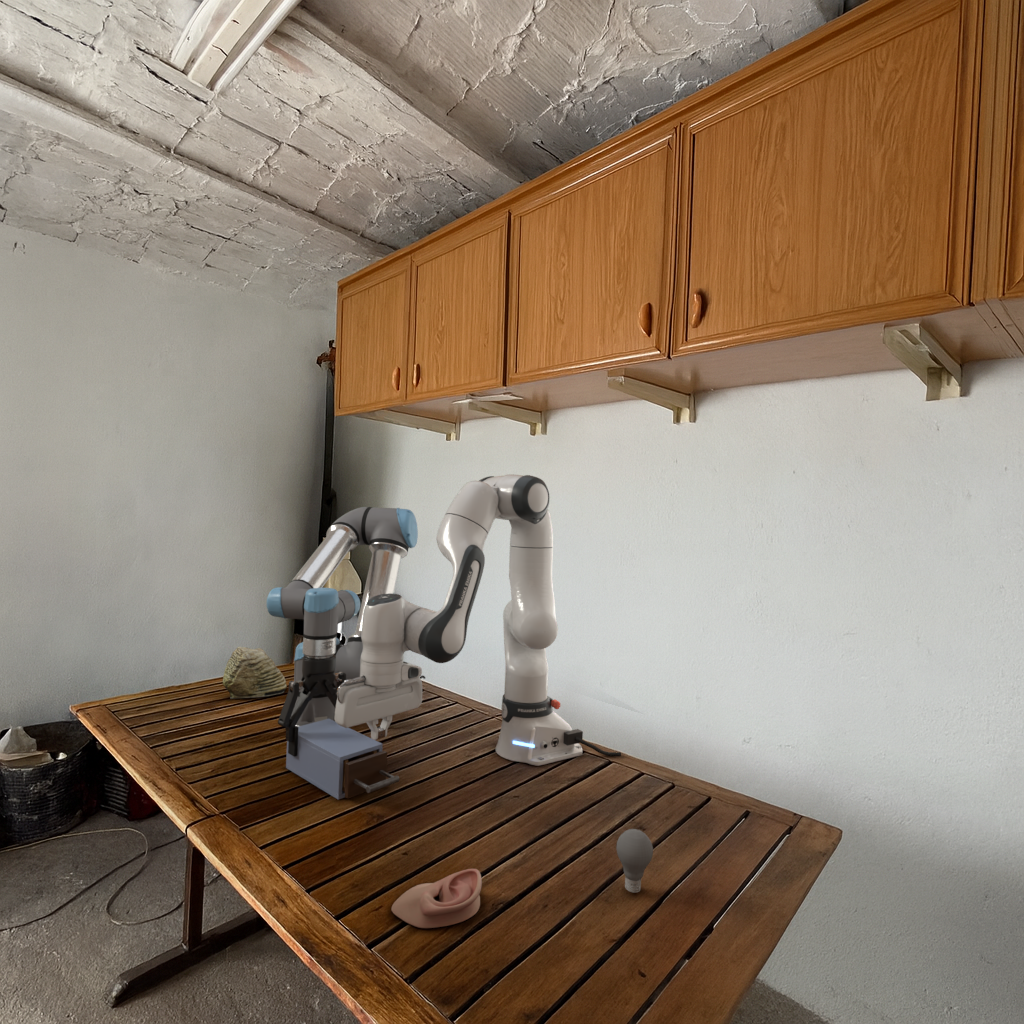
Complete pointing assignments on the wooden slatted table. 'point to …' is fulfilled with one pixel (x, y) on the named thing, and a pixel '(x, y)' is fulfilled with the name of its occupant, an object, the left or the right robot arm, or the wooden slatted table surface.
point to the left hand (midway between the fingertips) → (315, 747)
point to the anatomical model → (441, 901)
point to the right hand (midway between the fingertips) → (378, 737)
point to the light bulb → (634, 857)
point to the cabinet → (327, 754)
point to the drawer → (366, 773)
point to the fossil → (252, 674)
